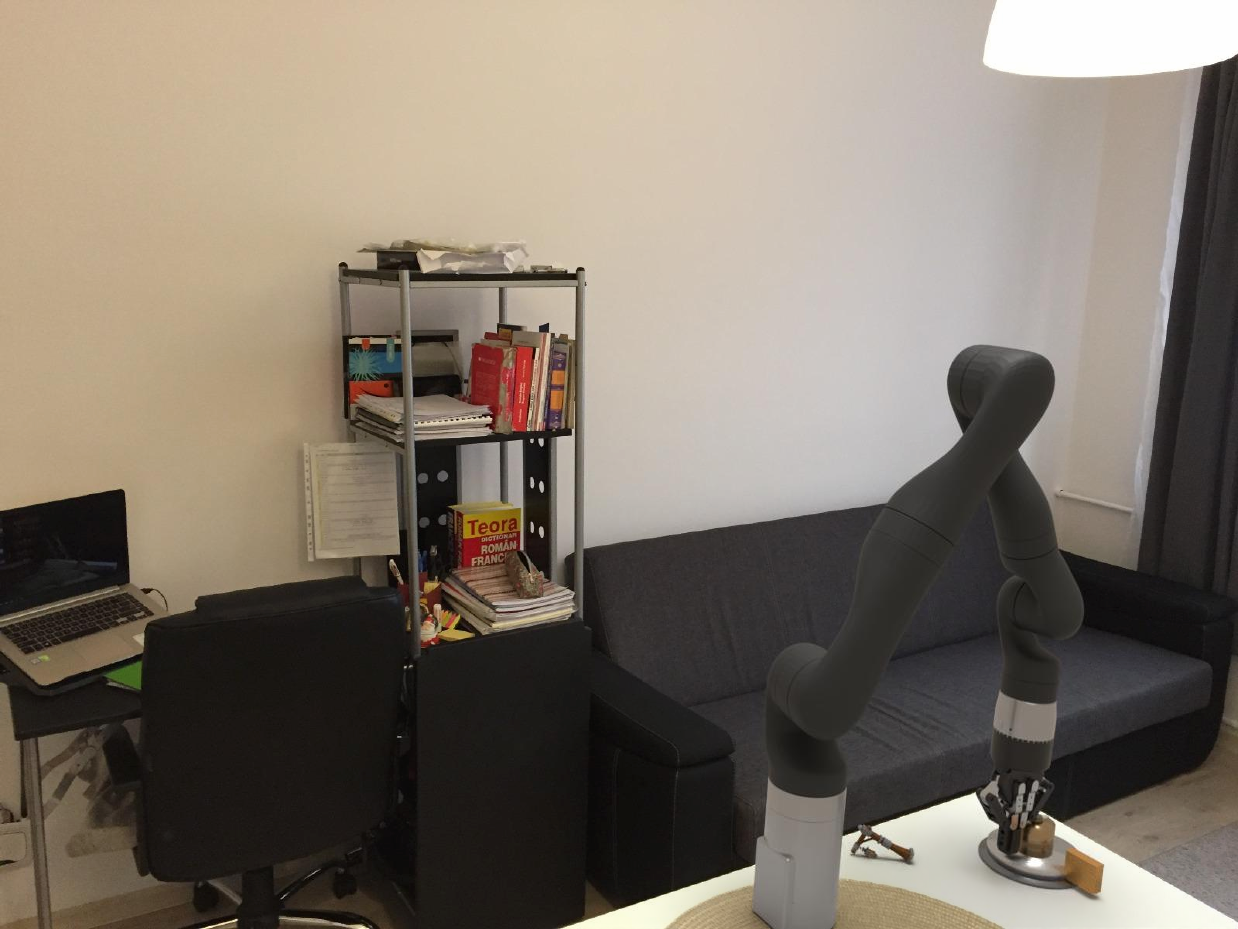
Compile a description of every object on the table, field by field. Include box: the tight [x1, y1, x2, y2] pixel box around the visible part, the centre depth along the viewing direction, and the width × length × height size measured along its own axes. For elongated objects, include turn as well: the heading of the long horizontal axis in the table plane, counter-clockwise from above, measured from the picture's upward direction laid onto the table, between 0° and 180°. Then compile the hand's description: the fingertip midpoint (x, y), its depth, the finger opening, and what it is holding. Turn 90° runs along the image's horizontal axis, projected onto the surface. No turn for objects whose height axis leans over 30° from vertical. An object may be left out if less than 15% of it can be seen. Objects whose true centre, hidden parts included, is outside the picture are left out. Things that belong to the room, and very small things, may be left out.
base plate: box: [977, 836, 1078, 890], centre depth 142 cm, size 14×14×1 cm
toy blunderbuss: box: [850, 824, 916, 865], centre depth 141 cm, size 2×8×4 cm, turn 82°
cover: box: [1018, 813, 1056, 858], centre depth 141 cm, size 5×5×5 cm
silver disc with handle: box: [986, 827, 1105, 895], centre depth 140 cm, size 16×12×4 cm
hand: (1007, 852), depth 139 cm, fingers closed
